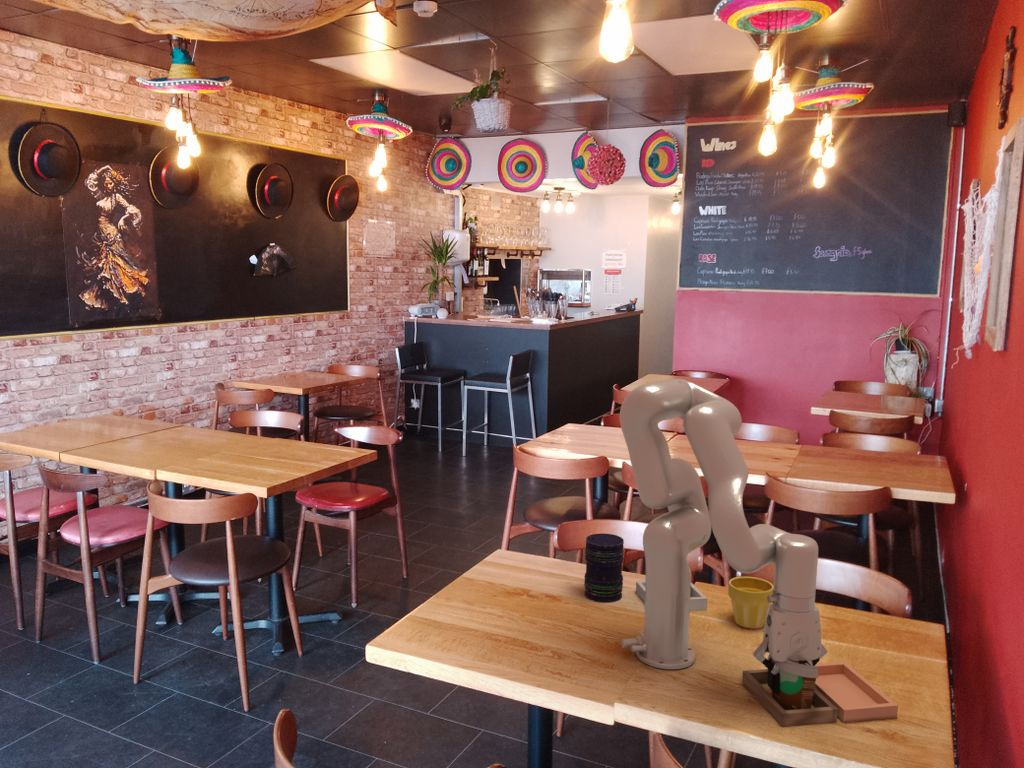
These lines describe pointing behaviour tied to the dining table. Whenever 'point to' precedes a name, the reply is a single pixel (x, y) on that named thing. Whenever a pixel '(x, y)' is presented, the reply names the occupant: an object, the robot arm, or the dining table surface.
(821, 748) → the dining table surface
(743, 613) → the plant pot
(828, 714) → the walnut stand frame
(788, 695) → the food container
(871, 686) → the terracotta tray
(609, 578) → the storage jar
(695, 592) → the grey parts rim
